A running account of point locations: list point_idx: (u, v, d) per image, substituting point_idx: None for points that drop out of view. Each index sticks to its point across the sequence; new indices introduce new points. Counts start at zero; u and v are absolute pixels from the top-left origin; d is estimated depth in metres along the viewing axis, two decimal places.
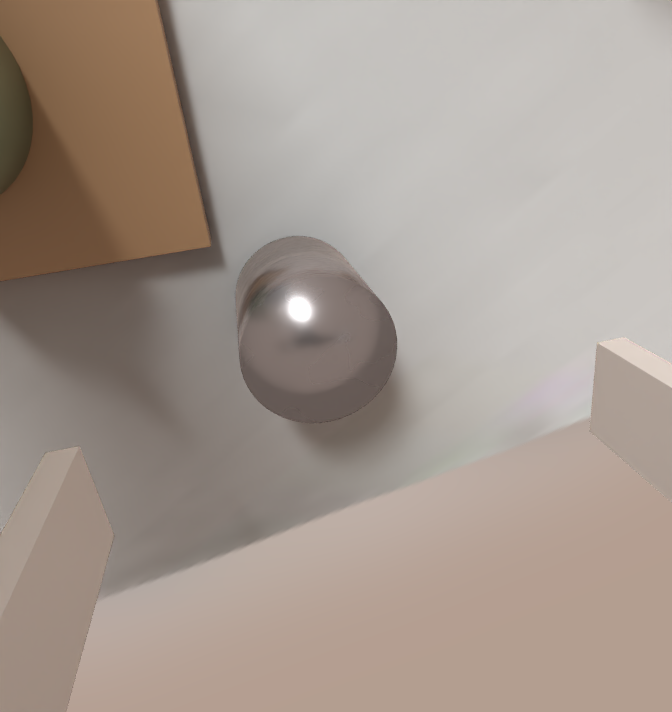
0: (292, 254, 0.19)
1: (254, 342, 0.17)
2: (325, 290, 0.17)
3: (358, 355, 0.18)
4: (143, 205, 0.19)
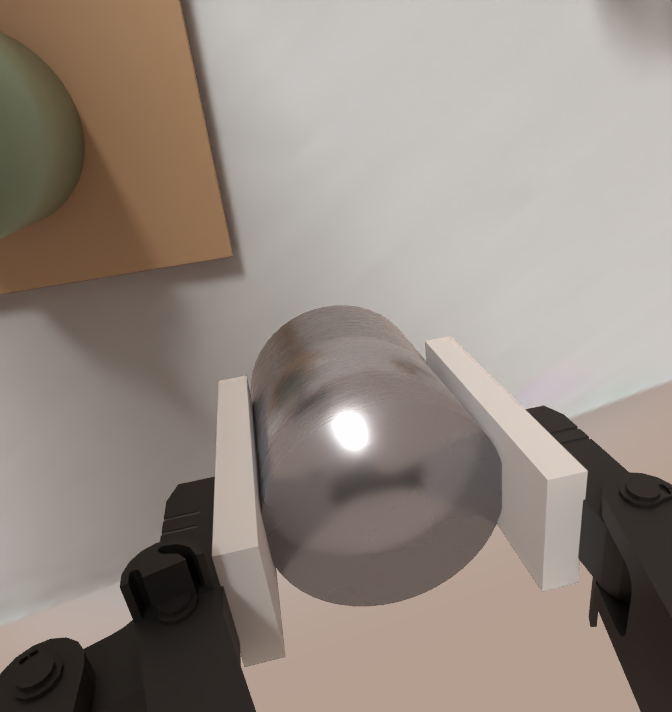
0: (338, 343, 0.13)
1: (285, 501, 0.11)
2: (400, 421, 0.10)
3: (446, 511, 0.12)
4: (175, 220, 0.22)
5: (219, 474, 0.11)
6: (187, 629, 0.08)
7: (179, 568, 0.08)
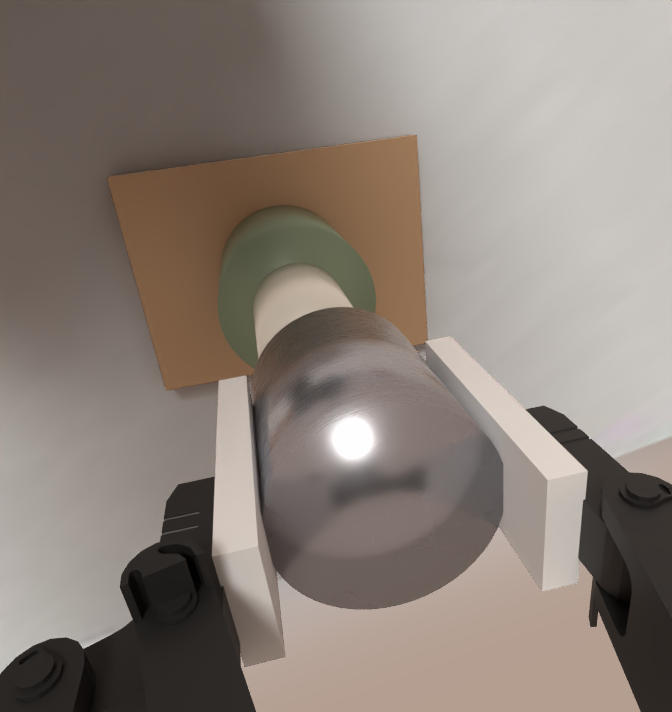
0: (338, 346, 0.13)
1: (286, 504, 0.11)
2: (402, 424, 0.10)
3: (447, 514, 0.11)
4: (394, 320, 0.33)
5: (219, 474, 0.11)
6: (187, 629, 0.08)
7: (179, 568, 0.08)
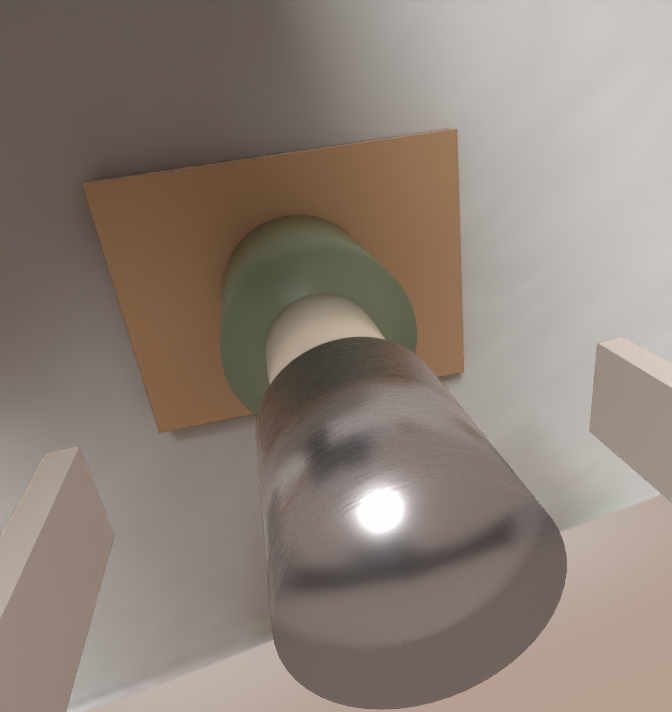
0: (360, 390, 0.11)
1: (301, 599, 0.09)
2: (445, 503, 0.08)
3: (495, 602, 0.10)
4: (426, 347, 0.28)
5: None
6: None
7: None
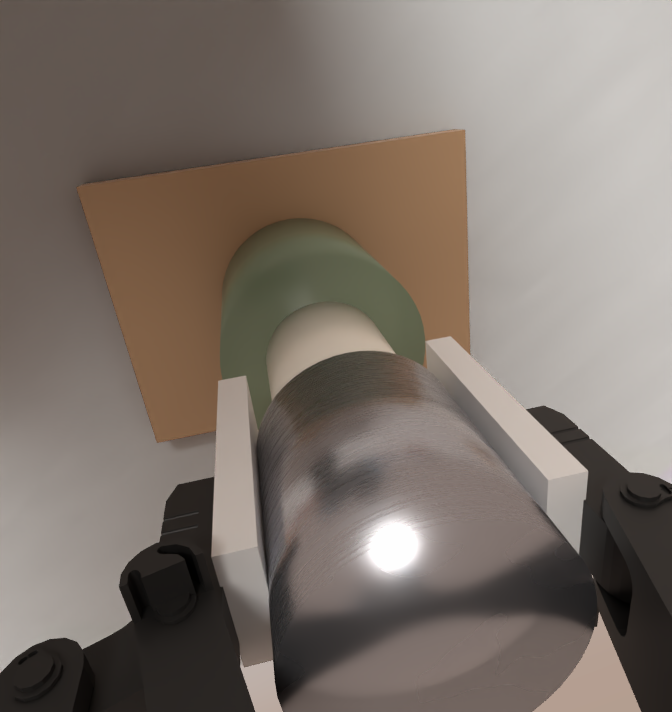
0: (369, 412, 0.10)
1: (307, 650, 0.08)
2: (467, 545, 0.08)
3: (519, 647, 0.09)
4: None
5: (218, 474, 0.11)
6: (186, 629, 0.08)
7: (178, 568, 0.08)
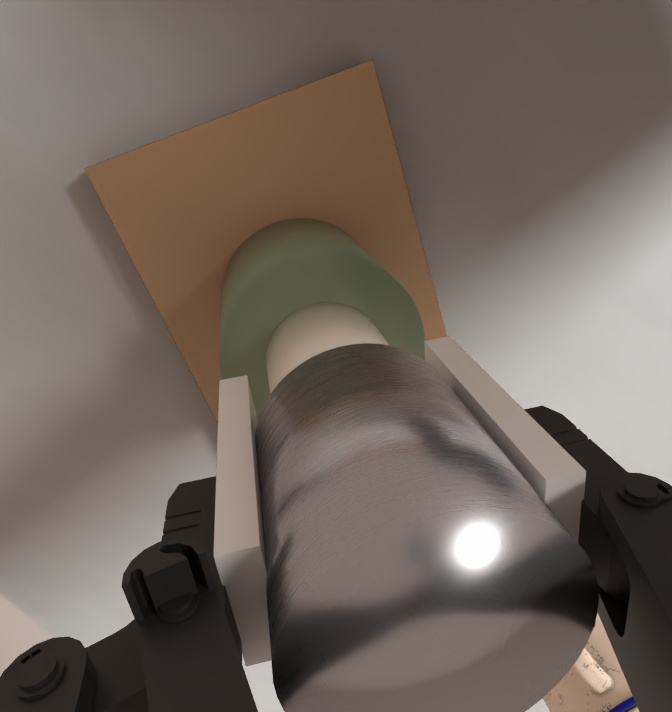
0: None
1: None
2: (307, 640, 0.08)
3: (476, 582, 0.08)
4: None
5: (220, 473, 0.11)
6: (189, 628, 0.08)
7: (181, 567, 0.08)
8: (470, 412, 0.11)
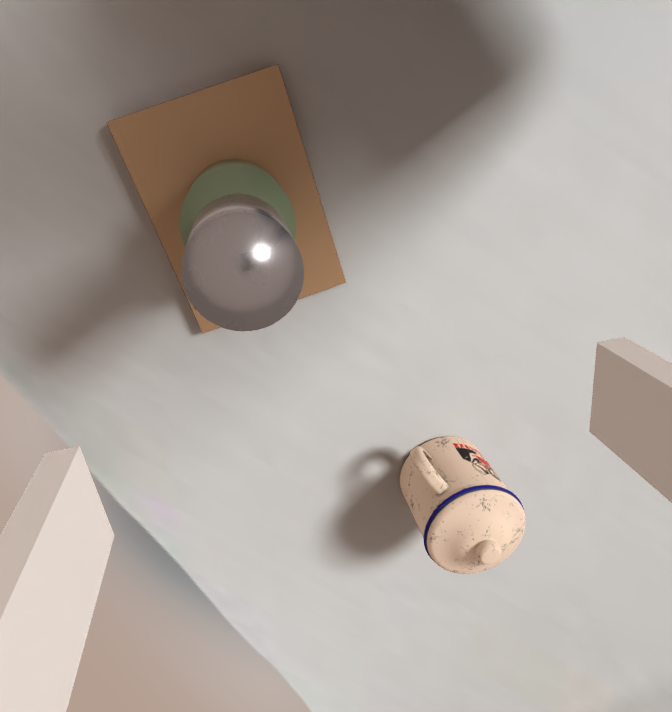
0: None
1: (224, 318, 0.24)
2: (192, 262, 0.23)
3: (251, 245, 0.23)
4: None
5: None
6: None
7: None
8: (279, 216, 0.26)
